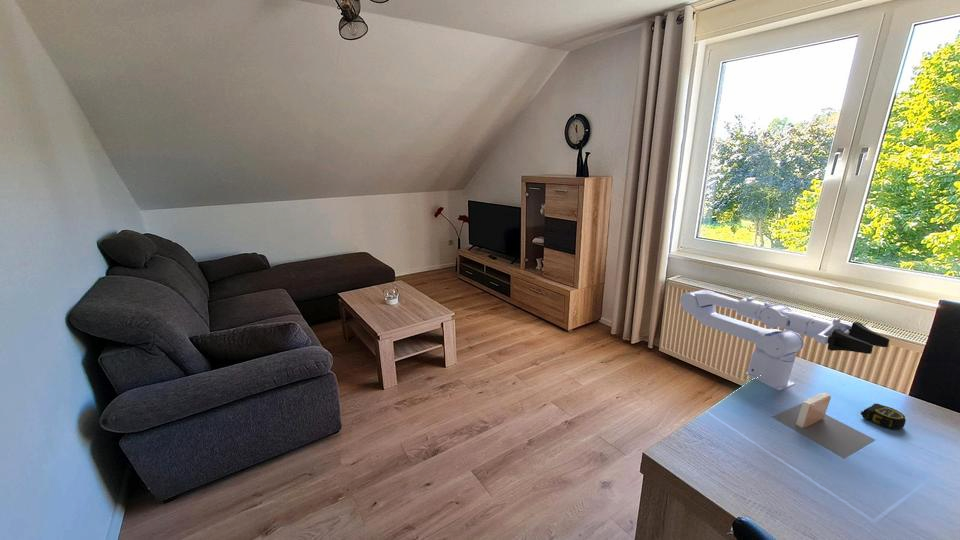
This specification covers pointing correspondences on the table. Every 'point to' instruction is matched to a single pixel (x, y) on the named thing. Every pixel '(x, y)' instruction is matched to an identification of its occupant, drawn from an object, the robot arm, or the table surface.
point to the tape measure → (884, 416)
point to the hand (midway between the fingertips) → (880, 346)
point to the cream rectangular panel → (813, 409)
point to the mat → (827, 432)
